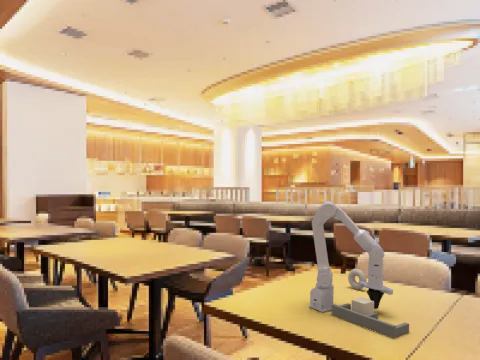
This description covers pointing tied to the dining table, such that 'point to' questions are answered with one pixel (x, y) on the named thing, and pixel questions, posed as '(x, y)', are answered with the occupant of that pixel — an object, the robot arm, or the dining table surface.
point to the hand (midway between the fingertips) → (375, 308)
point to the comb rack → (369, 321)
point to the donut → (352, 278)
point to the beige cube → (363, 306)
